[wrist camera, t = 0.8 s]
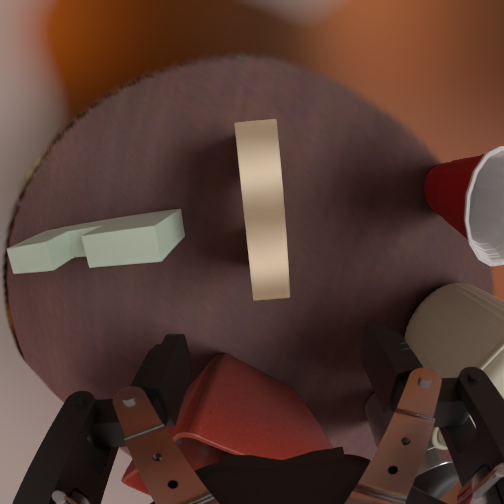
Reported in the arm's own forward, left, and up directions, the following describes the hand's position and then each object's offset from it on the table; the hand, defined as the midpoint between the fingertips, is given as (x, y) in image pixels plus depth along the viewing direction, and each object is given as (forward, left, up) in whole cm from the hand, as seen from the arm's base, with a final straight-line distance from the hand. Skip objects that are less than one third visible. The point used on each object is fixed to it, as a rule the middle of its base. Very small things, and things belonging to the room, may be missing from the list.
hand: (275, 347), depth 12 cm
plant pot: (-19, +14, -19) cm, 31 cm away
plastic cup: (-3, -21, -19) cm, 29 cm away
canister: (-21, -17, -19) cm, 34 cm away
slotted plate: (+4, -1, -19) cm, 19 cm away
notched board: (+9, +17, -19) cm, 27 cm away
